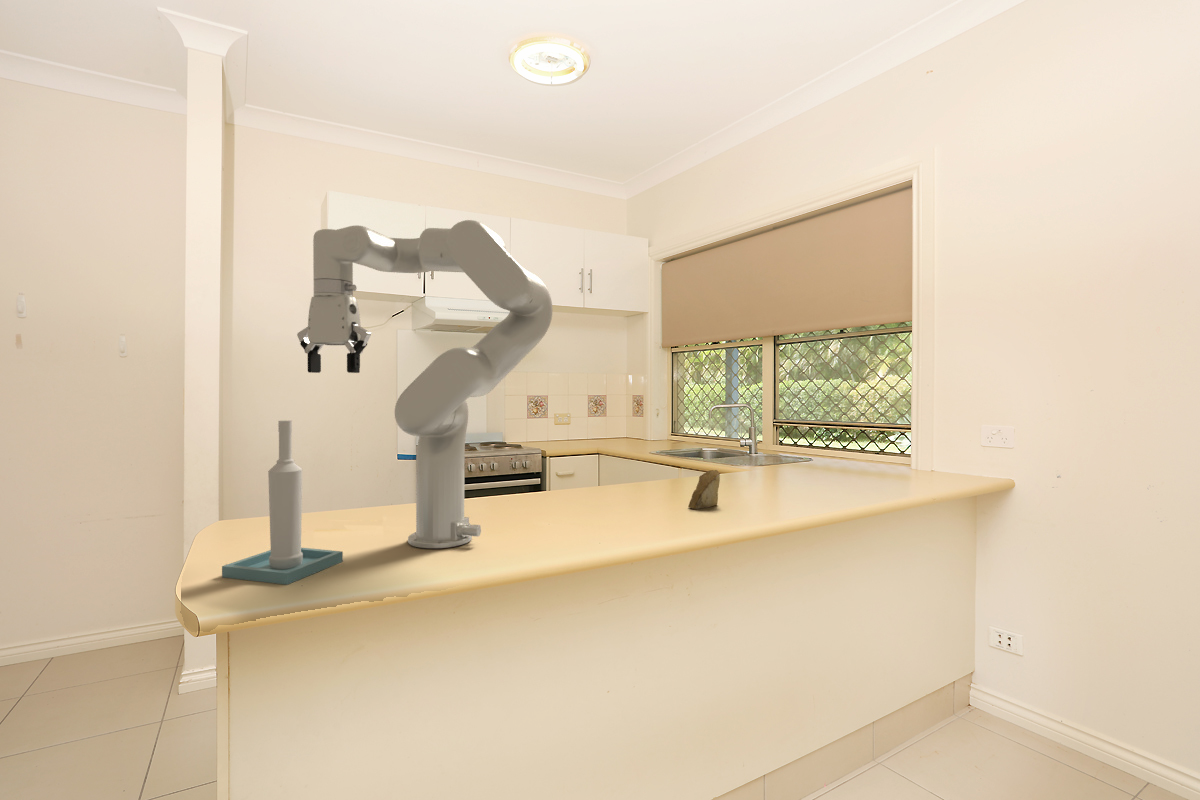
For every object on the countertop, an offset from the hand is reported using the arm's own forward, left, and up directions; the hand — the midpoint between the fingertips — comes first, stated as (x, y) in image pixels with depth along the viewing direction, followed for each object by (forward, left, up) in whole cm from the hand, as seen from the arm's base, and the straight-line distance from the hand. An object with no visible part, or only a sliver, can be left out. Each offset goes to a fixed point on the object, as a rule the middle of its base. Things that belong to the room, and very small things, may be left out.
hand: (333, 372), depth 125 cm
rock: (-72, -54, -35) cm, 96 cm away
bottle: (-8, +22, -34) cm, 41 cm away
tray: (-8, +22, -34) cm, 42 cm away
